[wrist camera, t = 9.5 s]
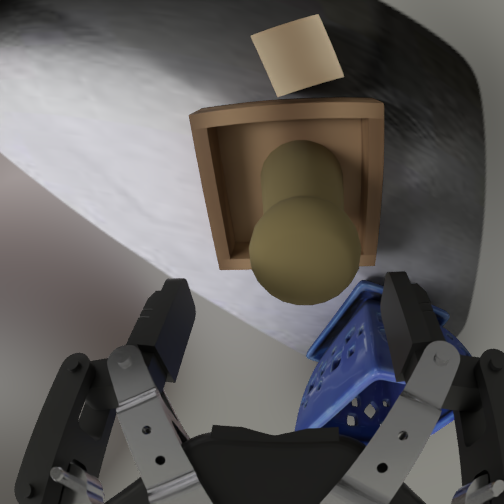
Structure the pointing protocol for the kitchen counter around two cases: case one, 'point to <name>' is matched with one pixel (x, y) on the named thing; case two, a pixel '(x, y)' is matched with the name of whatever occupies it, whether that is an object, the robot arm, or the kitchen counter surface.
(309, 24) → the beech block
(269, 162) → the cork
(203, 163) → the tray
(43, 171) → the kitchen counter surface
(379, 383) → the flower pot
